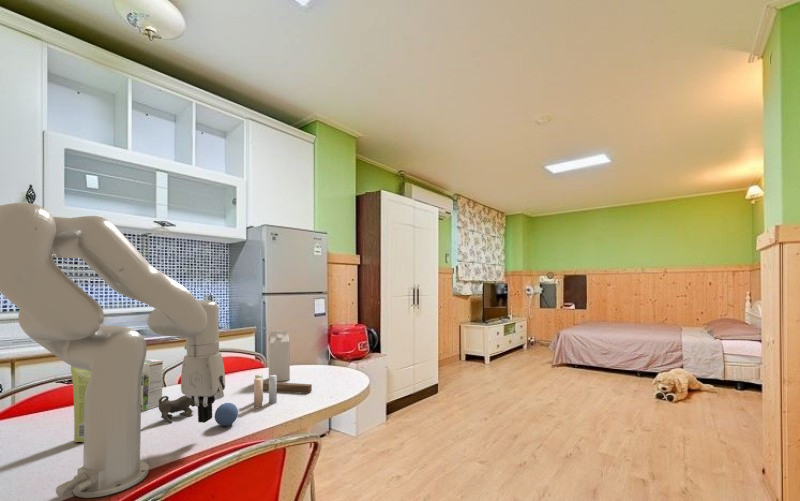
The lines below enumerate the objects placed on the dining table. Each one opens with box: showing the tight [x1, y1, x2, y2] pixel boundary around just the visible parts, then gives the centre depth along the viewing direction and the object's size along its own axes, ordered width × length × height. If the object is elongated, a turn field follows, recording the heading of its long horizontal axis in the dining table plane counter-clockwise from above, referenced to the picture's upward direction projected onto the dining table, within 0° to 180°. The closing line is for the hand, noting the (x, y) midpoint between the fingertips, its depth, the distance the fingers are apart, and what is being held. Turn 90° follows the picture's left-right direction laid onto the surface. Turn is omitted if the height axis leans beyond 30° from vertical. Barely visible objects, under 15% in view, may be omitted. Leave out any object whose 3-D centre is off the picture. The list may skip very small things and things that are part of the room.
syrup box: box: [141, 358, 164, 411], centre depth 125 cm, size 6×6×14 cm
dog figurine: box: [158, 395, 196, 424], centre depth 116 cm, size 12×6×7 cm, turn 144°
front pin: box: [253, 378, 263, 409], centre depth 123 cm, size 2×2×8 cm
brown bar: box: [263, 381, 313, 394], centre depth 139 cm, size 2×20×2 cm, turn 76°
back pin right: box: [268, 375, 278, 405], centre depth 127 cm, size 2×2×8 cm
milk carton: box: [268, 329, 291, 382], centre depth 154 cm, size 7×7×19 cm
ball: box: [214, 402, 239, 427], centre depth 109 cm, size 6×6×6 cm
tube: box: [70, 365, 91, 443], centre depth 102 cm, size 6×5×20 cm
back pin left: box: [254, 373, 264, 403], centre depth 128 cm, size 2×2×8 cm
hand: (205, 420), depth 101 cm, fingers closed
